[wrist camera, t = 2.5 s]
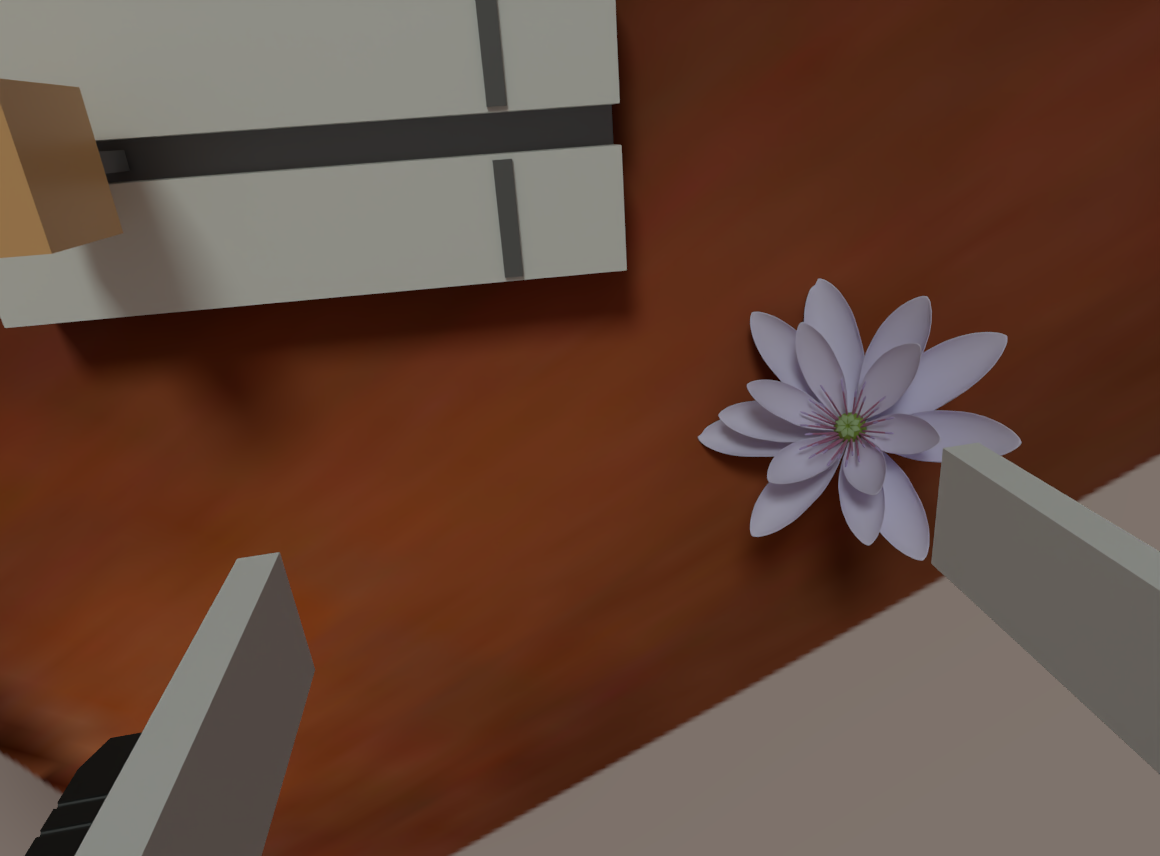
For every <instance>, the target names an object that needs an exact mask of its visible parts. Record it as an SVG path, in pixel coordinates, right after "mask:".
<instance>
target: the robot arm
mask: <svg viewBox="0 0 1160 856" xmlns="http://www.w3.org/2000/svg"><path fill="white" fill-rule="evenodd" d="M931 564H933V565H934V566H935V567H936V568H937V569H938V570H939V571H940V572H941V573H942V574H943V575H944V576H946V577H947V578H948V579H949V580H950V581H951V582H952V583H953V584H954V585H955V586H956V587H957V588H958V589H960V590H961V591H962V592H963V593H964V594H965V595H966V596H967V597H968V598H969V599H971V600H972V601H973V602H974V603H975V604H976V605H977V606H978V607H979V608H980V609H981V610H982V611H984V613H986V614H987V615H988V616H989V617H990V618H991V619H992V620H993V621H994V622H995V623H996V624H998V625H999V626H1000V627H1001V628H1002V629H1003V630H1004V631H1005V632H1006V633H1007V634H1008V635H1010V636H1011V637H1012V638H1013V639H1014V640H1015V641H1016V642H1017V643H1018V644H1019V645H1020V646H1021V647H1023V649H1025V650H1026V651H1027V652H1028V653H1029V654H1030V655H1031V656H1032V657H1033V658H1034V659H1036V661H1038V662H1039V663H1040V664H1041V665H1042V666H1043V667H1044V668H1045V669H1046V670H1047V671H1048V672H1049V673H1051V674H1052V675H1053V676H1054V677H1055V678H1056V679H1057V680H1058V681H1059V682H1060V683H1061V684H1062V685H1064V686H1065V687H1066V688H1067V689H1068V690H1069V691H1070V692H1071V693H1072V694H1073V695H1075V697H1077V698H1078V699H1079V700H1080V701H1081V702H1082V703H1083V704H1084V705H1085V706H1086V707H1087V708H1089V709H1090V710H1091V711H1092V712H1093V713H1094V714H1095V715H1096V716H1097V717H1098V718H1099V719H1100V720H1101V721H1103V722H1104V723H1105V724H1106V725H1107V726H1108V727H1109V728H1110V729H1111V730H1112V731H1113V732H1114V733H1115V734H1117V735H1118V736H1119V737H1120V738H1121V739H1122V740H1123V741H1124V742H1125V743H1126V744H1127V745H1129V746H1130V747H1131V748H1132V749H1133V750H1134V751H1135V752H1136V753H1137V754H1138V755H1139V756H1140V757H1141V758H1143V759H1144V760H1145V761H1146V762H1147V763H1148V764H1149V765H1150V766H1151V767H1152V768H1153V769H1154V770H1156V771H1157V772H1158V773H1159V774H1160V551H1158V550H1156V549H1155V548H1153V547H1151V546H1150V545H1148V544H1146V543H1145V542H1143V541H1141V540H1140V539H1138V538H1136V537H1135V536H1133V535H1131V534H1130V533H1128V532H1126V531H1125V530H1123V529H1121V528H1120V527H1118V526H1116V525H1115V524H1113V523H1111V522H1110V521H1108V520H1106V519H1105V518H1103V517H1101V516H1100V515H1098V514H1096V513H1095V512H1093V511H1091V510H1090V509H1088V508H1086V507H1085V506H1083V505H1082V504H1080V503H1078V502H1077V501H1075V500H1073V499H1072V498H1070V497H1068V496H1067V495H1065V494H1063V493H1062V492H1060V491H1058V490H1057V489H1055V488H1053V487H1052V486H1050V485H1048V484H1047V483H1045V482H1043V481H1042V480H1040V479H1038V478H1037V477H1035V476H1033V475H1032V474H1030V473H1028V472H1027V471H1025V470H1023V469H1022V468H1020V467H1018V466H1017V465H1015V464H1013V463H1012V462H1010V461H1008V460H1007V459H1005V458H1003V457H1002V456H1000V455H998V454H997V453H995V452H993V451H992V450H990V449H988V448H987V447H985V446H983V445H982V444H980V443H972V444H966V445H959V446H953V447H947V448H943V453H942V463H941V473H940V483H939V493H938V503H937V512H936V522H935V532H934V542H933V552H932V562H931ZM314 671H315V668H314V665H313V661H312V658H311V655H310V651H309V648H308V645H307V641H306V638H305V635H304V631H303V628H302V625H301V621H300V618H299V615H298V611H297V608H296V605H295V601H294V598H293V595H292V592H291V588H290V585H289V582H288V578H287V575H286V572H285V568H284V565H283V562H282V558H281V555H280V552H278V553H271V554H265V555H258V556H252V557H246V558H239V559H237V560H236V562H235V564H234V566H233V567H232V569H231V571H230V573H229V575H228V577H227V578H226V580H225V582H224V584H223V586H222V588H221V589H220V591H219V593H218V595H217V597H216V599H215V600H214V602H213V604H212V606H211V608H210V609H209V611H208V613H207V615H206V617H205V619H204V620H203V622H202V624H201V626H200V628H199V630H198V631H197V633H196V635H195V637H194V639H193V641H192V642H191V644H190V646H189V648H188V650H187V651H186V653H185V655H184V657H183V659H182V661H181V662H180V664H179V666H178V668H177V670H176V672H175V673H174V675H173V677H172V679H171V681H170V682H169V684H168V686H167V688H166V690H165V692H164V693H163V695H162V697H161V699H160V701H159V703H158V704H157V706H156V708H155V710H154V712H153V714H152V715H151V717H150V719H149V721H148V723H147V724H146V726H145V728H144V730H143V732H142V733H137V734H131V735H125V736H120V737H114V738H110V739H109V740H108V741H107V742H106V743H105V744H104V745H103V746H102V747H101V748H100V749H99V750H98V751H97V752H96V753H94V754H93V755H92V756H91V757H90V758H89V759H88V760H87V761H86V762H85V763H84V764H83V765H82V766H81V767H80V768H79V769H78V770H77V772H76V773H75V775H74V777H73V778H72V780H71V782H70V783H69V785H68V786H67V788H66V790H65V791H64V793H63V795H62V796H61V798H60V799H59V801H58V808H57V809H53V811H52V813H51V814H50V816H49V817H48V819H47V820H46V822H45V824H44V826H43V827H42V829H41V830H40V831H41V835H40V837H37V838H35V840H34V841H33V843H32V845H31V846H30V848H29V850H28V851H27V853H26V855H25V856H261V855H262V852H263V848H264V845H265V841H266V838H267V834H268V831H269V828H270V824H271V821H272V817H273V814H274V810H275V807H276V803H277V800H278V796H279V793H280V789H281V786H282V782H283V779H284V776H285V772H286V769H287V765H288V762H289V758H290V755H291V751H292V748H293V744H294V741H295V737H296V734H297V730H298V727H299V723H300V720H301V717H302V713H303V710H304V706H305V703H306V699H307V696H308V692H309V689H310V685H311V682H312V678H313V675H314Z"/></svg>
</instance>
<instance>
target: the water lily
mask: <svg viewBox="0 0 1160 856" xmlns="http://www.w3.org/2000/svg"><path fill="white" fill-rule="evenodd" d="M931 317H932V309H931V303H930V300H929V298H928V297H927V296H920V297H917V298H914V299H912V300H910V301H908V302H906V303H905V304H903V305H901V306H900V307H899V308H898V309H896V310H895V311H894V312H893V313H892V314H891V315H890V316H889V317H888V318H887V319H886V320H885V321H884V322H883V324H882V325H881V326H880V328H879V329H878V331H877V332H876V334H875V336H874V338H873V340H872V341H871V343H870V345H869V347H868V349H867V352H866V354H865V357H864V350H863V346H862V342H861V338H860V334H859V331H858V327H857V324H856V321H855V318H854V315H853V313H852V311H851V309H850V307H849V305H848V303H847V301H846V300H845V298H844V297H843V295H842V294H841V293H840V291H838V290H837V289H836V288H835V287H834V286H833V285H832V284H831V283H829V282H828V281H826V280H824V279H818V280H817V282H816V284H815V286H813V287H812V288H811V289H810V291H809V293H808V297H807V300H806V304H805V310H804V322H801V323H800V324H799V326H798V328H797V331H796V330H795V329H794V328H792V327H791V326H790V325H788V324H787V323H785V322H784V321H782V320H780V319H779V318H777V317H774V316H772V315H769V314H767V313H762V312H752V313H751V316H750V327H751V332H752V336H753V339H754V342H755V344H756V346H757V349H758V351H759V353H760V354H761V356H762V358H763V359H764V361H765V362H766V364H767V365H768V366H769V368H770V369H771V370H772V371H773V372H774V374H775V375H776V376H777V377H778V378H779V379H780V381H781V382H780V381H775V380H756V381H752V382H750V383H748V384H747V389H748V391H749V392H750V394H751V395H752V397H753V398H754V399H755V400H756V401H749V402H742V403H738V404H735V405H732V406H729V407H727V408H725V409H724V410H722V411H721V412H720V413H719V415H718V416H719V418H720V420H719V421H716V422H714V423H713V424H711V425H709V426H708V427H706V428H705V429H704V431H703V433H702V434H701V435H700V436H698V439H699V441H700V442H701V443H702V444H704V445H705V446H707V447H709V448H711V449H713V450H715V451H718V452H721V453H724V454H729V455H734V456H744V457H774V458H773V459H772V461H771V463H770V465H769V468H768V471H767V479H768V482H769V483H768V484H767V485H766V487H765V488H764V489H763V491H762V492H761V494H760V496H759V498H758V500H757V502H756V504H755V506H754V509H753V511H752V516H751V521H750V533H751V535H752V536H754V537H761V536H766V535H769V534H772V533H774V532H777V531H779V530H781V529H782V528H784V527H786V526H787V525H789V524H790V523H792V522H793V521H794V520H796V519H797V518H798V517H799V516H800V515H801V514H803V513H804V512H805V511H806V510H807V509H808V508H809V507H810V506H811V505H812V503H813V502H814V501H815V500H816V499H817V498H818V497H819V496H820V495H821V494H822V492H823V491H824V490H825V488H826V487H827V485H828V484H829V482H830V480H831V479H832V477H833V475H834V473H835V471H836V469H837V467H838V465H839V462H840V460H841V458H842V455H843V453H844V450H845V447H846V445H847V447H846V450H845V453H844V457H843V460H842V464H841V468H840V473H839V480H838V489H839V497H840V504H841V508H842V512H843V515H844V517H845V520H846V522H847V524H848V526H849V528H850V529H851V531H852V532H853V533H854V535H855V536H856V537H857V538H858V539H859V540H860V541H861V542H862V543H863V544H865V545H868V546H869V545H871V544H872V543H873V542H874V541H875V539H876V538H877V536H878V534H879V532H880V533H881V534H882V535H883V536H884V537H885V538H886V539H887V540H888V542H890V543H891V544H892V545H893V546H894V547H895V548H896V549H898V550H899V551H901V552H902V553H904V554H905V555H907V556H909V557H911V558H914V559H916V560H924V559H925V558H926V556H927V553H928V549H929V527H928V522H927V518H926V514H925V510H924V508H923V505H922V503H921V501H920V499H919V497H918V495H917V493H916V491H915V489H914V487H913V486H912V484H911V482H910V480H909V479H908V477H907V476H906V474H905V473H904V472H903V470H902V469H901V468H900V467H899V466H898V465H897V464H896V463H895V462H894V461H893V460H892V459H891V458H890V457H889V456H888V455H887V454H886V453H885V452H887V453H893V454H897V455H900V456H903V457H906V458H909V459H913V460H919V461H927V462H941V463H942V453H943V448H947V447H953V446H959V445H966V444H972V443H980V444H982V445H983V446H985V447H987V448H988V449H990V450H992V451H993V452H995V453H997V454H998V455H1000V456H1001V455H1004V454H1007V453H1008V452H1011V451H1013V450H1015V449H1016V448H1018V447H1019V446H1020V445H1021V440H1020V438H1019V437H1018V436H1017V435H1016V434H1015V433H1014V432H1013V431H1012V430H1010V429H1009V428H1008V427H1006V426H1004V425H1003V424H1001V423H999V422H997V421H995V420H992V419H990V418H987V417H984V416H981V415H977V414H973V413H968V412H960V411H943V410H936V409H937V408H939V407H941V406H943V405H944V404H946V403H948V402H950V401H951V400H953V399H954V398H956V397H957V396H959V395H960V394H962V393H963V392H965V391H966V390H968V389H969V388H970V387H972V386H973V385H974V384H975V383H977V382H978V381H979V380H980V379H981V378H982V377H983V376H984V375H985V374H986V373H988V371H989V370H990V369H991V368H992V367H993V366H994V365H995V364H996V362H997V360H998V359H999V358H1000V356H1001V355H1002V353H1003V351H1004V349H1005V347H1006V344H1007V336H1006V335H1004V334H1002V333H996V332H980V333H972V334H967V335H963V336H959V337H956V338H953V339H950V340H947V341H945V342H943V343H940V344H938V345H936V346H934V347H933V348H931V349H929V350H927V351H926V352H924V353H923V351H924V349H925V346H926V343H927V340H928V337H929V333H930V328H931ZM847 443H848V444H847Z"/></svg>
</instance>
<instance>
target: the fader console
mask: <svg viewBox="0 0 1160 856" xmlns="http://www.w3.org/2000/svg"><path fill="white" fill-rule="evenodd" d="M0 79H9V80H18V81H27V82H36V83H46V84H55V85H64V86H73V87H79V88H80V91H81V95H82V98H83V101H84V105H85V108H86V111H87V114H88V118H89V121H90V124H91V128H92V131H93V134H94V138H95V141H96V144H97V148H98V151H116V150H124V151H125V155H126V158H127V162H128V165H129V169H130V171H124V172H116V173H107V174H106V177H107V181H108V184H109V187H110V191H111V194H112V197H113V201H114V204H115V207H116V211H117V214H118V217H119V220H120V224H121V227H122V230H123V233H122V234H119V235H115V236H112V237H108V238H105V239H101V240H98V241H94V242H91V243H88V244H84V245H81V246H77V247H74V248H70V249H67V250H63V251H60V252H56V253H53V254H43V255H31V256H19V257H8V258H0V317H1V319H2V322H3V324H4V327H5V328H10V327H21V326H32V325H43V324H54V323H64V322H75V321H86V320H97V319H108V318H118V317H129V316H140V315H151V314H161V313H172V312H183V311H194V310H205V309H215V308H226V307H237V306H248V305H259V304H269V303H280V302H291V301H302V300H313V299H323V298H334V297H345V296H356V295H366V294H377V293H388V292H399V291H410V290H420V289H431V288H442V287H453V286H464V285H474V284H485V283H496V282H507V281H518V280H528V279H539V278H550V277H561V276H571V275H582V274H593V273H604V272H615V271H625V270H627V261H626V238H625V214H624V191H623V167H622V145H616V144H613V124H612V104H617V103H620V97H619V73H618V50H617V26H616V3H615V0H0Z"/></svg>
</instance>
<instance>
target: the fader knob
mask: <svg viewBox="0 0 1160 856" xmlns="http://www.w3.org/2000/svg"><path fill="white" fill-rule="evenodd" d="M124 171H130V169H129V165H128V162H127V158H126V155H125V151H124V150H116V151H98V148H97V144H96V141H95V138H94V134H93V131H92V128H91V124H90V121H89V118H88V114H87V111H86V108H85V105H84V101H83V98H82V95H81V91H80V88H79V87H73V86H64V85H55V84H46V83H36V82H27V81H18V80H9V79H0V258H8V257H19V256H31V255H43V254H53V253H56V252H60V251H63V250H67V249H70V248H74V247H77V246H81V245H84V244H88V243H91V242H94V241H98V240H101V239H105V238H108V237H112V236H115V235H119V234H122V233H123V230H122V227H121V224H120V220H119V217H118V214H117V211H116V207H115V204H114V201H113V197H112V194H111V191H110V187H109V184H108V181H107V177H106V174H107V173H116V172H124Z"/></svg>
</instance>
